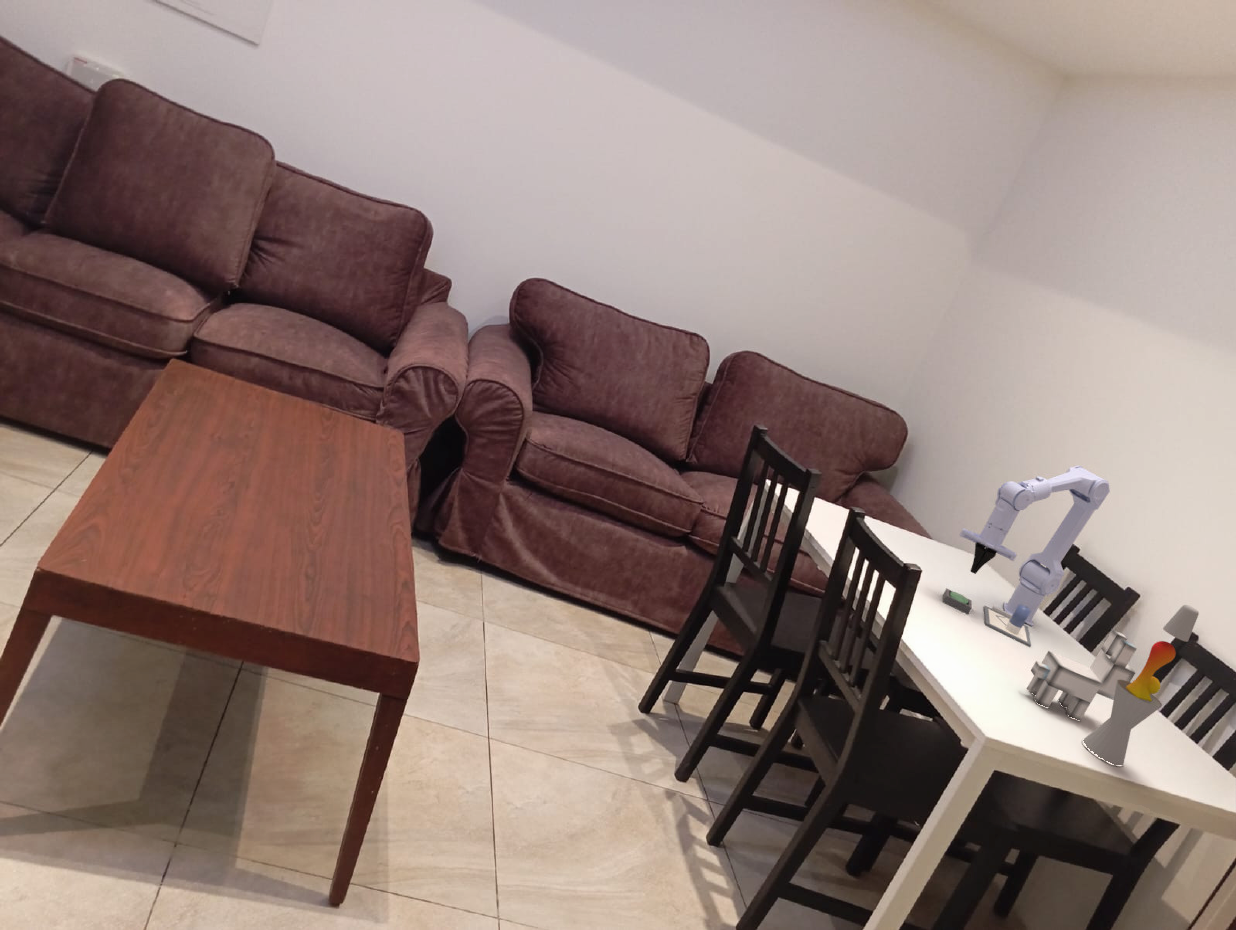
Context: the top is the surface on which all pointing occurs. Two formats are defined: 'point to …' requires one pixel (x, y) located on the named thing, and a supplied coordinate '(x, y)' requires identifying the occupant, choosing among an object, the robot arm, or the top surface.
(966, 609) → the button housing
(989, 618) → the clipboard
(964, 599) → the button
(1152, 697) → the lava lamp
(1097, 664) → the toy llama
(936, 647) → the top surface
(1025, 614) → the marker
